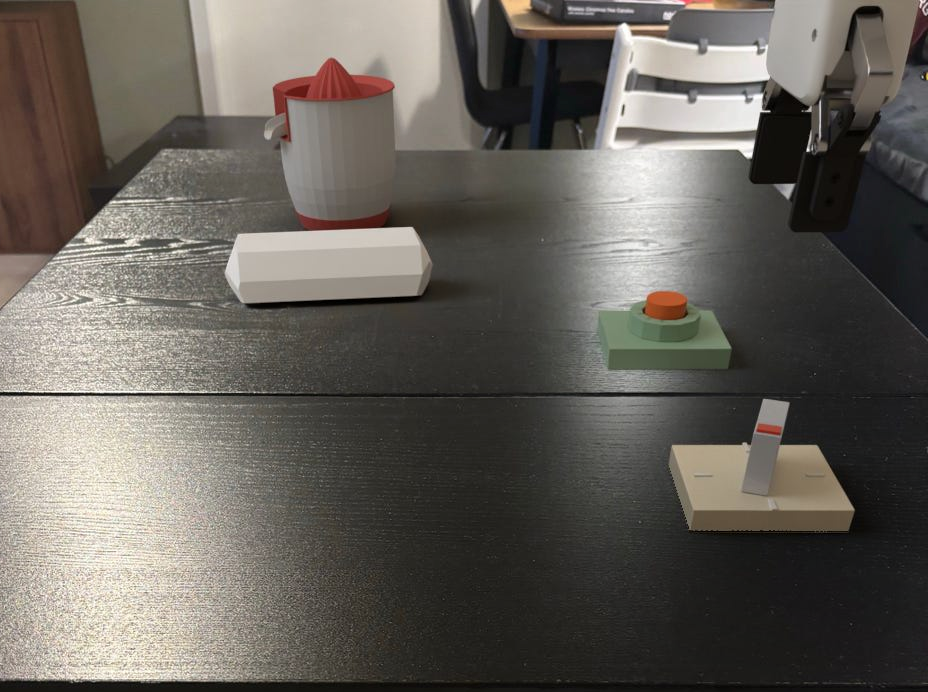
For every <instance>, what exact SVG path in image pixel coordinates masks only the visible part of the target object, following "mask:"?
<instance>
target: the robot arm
mask: <svg viewBox="0 0 928 692" xmlns="http://www.w3.org/2000/svg"><path fill="white" fill-rule="evenodd" d="M920 1H921V0H774V6H773V10H772V17H771V23H770V28H769V29H770V31H769V36H768V43H767V51H766V62H765V66H766V73H767V74H768V75H769V78H768V81H767V83H766V86H765V88H764V89H763V90H764V91H763V93H762V98H761V111H760V112H759V116H758V122H757V127H756V133H755V137H754V144H753V150H752V155H751V158H750V159H751V161H750V165H749V171H748V180H749V181H750V183H751V184H753V185H795V188H794V189H795V190H794V193H793V198H792V202H791V206H790V212H789V217H788V221H787V226H788V228H789V229H790V230H791V232H793V233H842V232H844V231H846V229H847V228H848V227H849V224H850V221H851V216H852V212H853V209H854V204H855V201H856V196H857V193H858V188H859V185H860V180H861V178H862V177H861V176H862V172H863V170H864V169H863V168H864V164H865V161H866V157H867V156H868V154H869V153H870V151H871V147H872V143H873V132H874V130H875V129H876V128H877V125H879V124H880V121H881V119H882V115H881V112H882V110H881V108H882V106H886V105H888V104H889V103H891V102H892V101H893V100H894V98H895V97H896V96H897V95H898V93H899V91H900V87H901V84H902V79H903V76H904V71H905V67H906V63H907V60H908V54H909V50H910V47H911V46H910V45H911V42H912V37H913V32H914V29H915V23H916V21H917V20H916V19H917V15H918V11H919V5H920ZM809 109H811V111H809ZM833 111H834V112H835V111H836V115H835V116H834V118H833V120H832V122H831V121H830V120H831V119H830V117H831V114H830V112H833ZM810 139H811V140H810ZM810 141H811V142H810ZM809 142H810V151H808V150H807V149H808V146H809Z"/></svg>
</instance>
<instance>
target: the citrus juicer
mask: <svg viewBox="0 0 928 692" xmlns="http://www.w3.org/2000/svg"><path fill="white" fill-rule="evenodd" d="M395 88H396V86H395V82H393V81H391V80H390V79H387V78H384V77H379V76H373V75H363V74H350V73H349V72H348V71H347V69H346V68H345V67H344V66H343V65H342V64H341V63H340V61H338V60H337V59H336V58H334V57H329V58H327V59H326V60H325V62H324V63H323V64H322V65H321V67H320V68H319V69H318V71H317V72H316V74H315V75H309V76H301V77H295V78H291V79H286V80H282V81H280V82H278V83H275V84H274V85H273V86H272V95H273V104H274V105H273V106H274V114H275V116H274V117H272V118H270V119H268V120H267V121H266V123H265V125H264V131H263V137H264V139H265V140H267V141H270V140H275V139H276V138H279V145H280V154H281V162H282V168H283V174H284V179H285V183H286V187H287V189H288V194H289V197H290V199H291V201H292V204H293V207H294V211H295V214H296V215H297V217H298V220H299V221H300V223H301V225H302V227H303V228H304V229H306V231H323V230H348V229H373V228H382V227H383V226H384V225H385V224H386V223H387V219H388V216H389V213H390V211H391V207H392V198H393V195H394V190H395V189H394V188H395V180H396V162H397V161H396V159H397V158H396V156H397V155H396V137H395V136H396V135H395V134H396V133H395V112H394V111H395V110H394V89H395Z"/></svg>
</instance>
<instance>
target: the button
mask: <svg viewBox="0 0 928 692" xmlns="http://www.w3.org/2000/svg"><path fill="white" fill-rule="evenodd" d="M645 300H646V308H645V315H647V316H649V317H651V318H655V319H660V320H678V319H682V318H684V317H685V312H686V306H687V303H688V298H687V296H686V295H684V294H682V293H679V292H676V291H670V290H659V291H654V292H650V293H648V294H647V296H646V299H645Z"/></svg>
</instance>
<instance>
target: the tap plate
mask: <svg viewBox="0 0 928 692" xmlns="http://www.w3.org/2000/svg"><path fill="white" fill-rule="evenodd" d="M750 447H751V444H748V442H742V443H741V444H672V445H671V448H670V453H669V460H668V465H669V466H668V469H669V468H670V469H669V472H670V471H671V472H670V475H671V474H672V476H671V478H672V477H673V479H672V481H673V480H674V482H673V485H674V484H675V485H674V488H675V487H676V488H675V491H676V490H677V491H676V494H677V493H678V494H677V497H678V496H679V497H678V500H679V499H680V501H679V503H680V502H681V504H680V506H681V505H682V507H681V509H682V508H683V510H682V512H683V511H684V513H683V515H684V514H685V516H684V518H685V517H686V519H685V521H686V520H687V522H686V525H687V524H688V526H689V529H688V531H689V530H693V531H695V530H698V531H701V530H703V531H706V530H708V531H711V530H713V531H717V530H718V531H732V530H734V531H737V530H739V531H742V530H743V531H746V530H748V531H751V530H752V531H760V530H763V531H769V530H771V531H773V530H775V531H778V530H779V531H782V530H783V531H786V530H787V531H790V530H791V531H815V532H814V533H817V532H816V531H819V532H818V533H821V532H820V531H823V532H822V533H828V532H827V531H848V532H849V530H850V527H851V524H852V521H853V518H854V515H855V511H856V510H855V508H854V506H853V504H852V503H851V501H850V499H849V497H848V496H847V494H846V492H845V491H844V489H843V487H842V485H841V484H840V482H839V480H838V479H837V476H836V475H835V473H834V472H833V470H832V468H831V467H830V465H829V463H828V461H827V459H826V458H825V456H824V454H823V453H822V450H821V449H820V447H819V445H817V444H780V447H779V451H778V455H777V459H776V463H775V467H774V471H773V475H772V479H771V483H770V488H769V492H768V495H767V496H764V495H758V494H753V493H747V492H742V491H741V487H742V483H743V478H744V474H745V469H746V465H747V461H748V456H749V452H750ZM688 526H687V527H688ZM824 531H826V532H824Z"/></svg>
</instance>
